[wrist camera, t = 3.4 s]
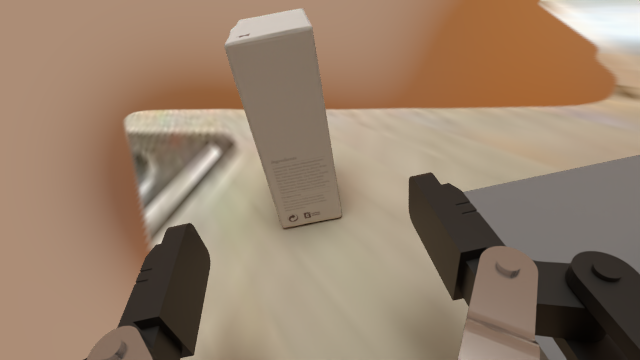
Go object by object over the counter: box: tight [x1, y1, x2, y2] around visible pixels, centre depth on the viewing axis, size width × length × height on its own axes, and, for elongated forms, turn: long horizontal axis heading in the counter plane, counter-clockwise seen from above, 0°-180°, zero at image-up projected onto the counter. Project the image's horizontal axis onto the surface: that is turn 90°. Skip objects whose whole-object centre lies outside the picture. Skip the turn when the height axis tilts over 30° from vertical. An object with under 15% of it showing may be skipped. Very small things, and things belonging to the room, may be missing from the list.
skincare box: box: [225, 8, 342, 228], centre depth 20 cm, size 6×4×12 cm
